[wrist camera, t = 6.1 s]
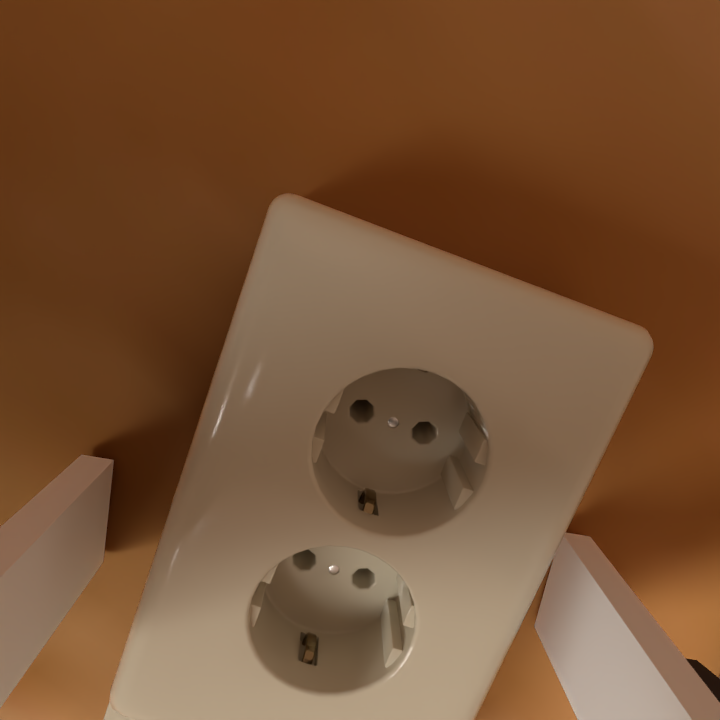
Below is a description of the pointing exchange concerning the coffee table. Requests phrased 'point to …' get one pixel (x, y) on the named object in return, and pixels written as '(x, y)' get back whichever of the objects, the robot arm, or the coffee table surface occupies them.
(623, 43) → the coffee table surface
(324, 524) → the electrical outlet
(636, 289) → the coffee table surface
